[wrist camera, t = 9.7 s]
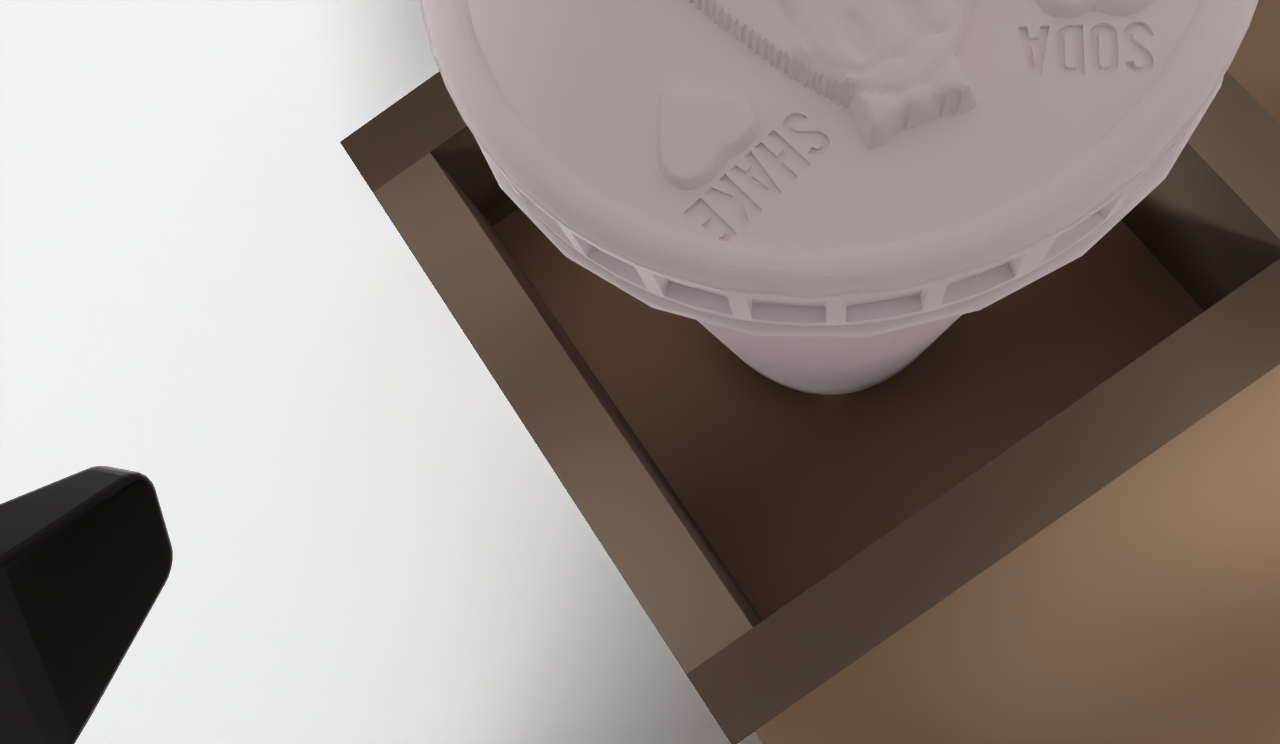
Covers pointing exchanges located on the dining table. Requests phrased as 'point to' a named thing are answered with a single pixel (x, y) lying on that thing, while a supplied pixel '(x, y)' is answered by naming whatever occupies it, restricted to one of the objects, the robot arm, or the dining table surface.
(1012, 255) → the smoothie
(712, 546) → the holder
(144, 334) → the dining table surface
